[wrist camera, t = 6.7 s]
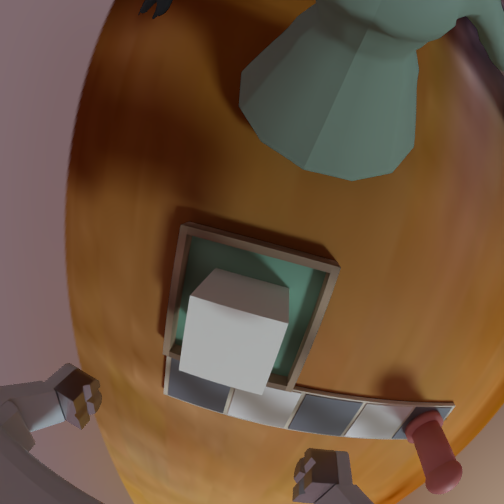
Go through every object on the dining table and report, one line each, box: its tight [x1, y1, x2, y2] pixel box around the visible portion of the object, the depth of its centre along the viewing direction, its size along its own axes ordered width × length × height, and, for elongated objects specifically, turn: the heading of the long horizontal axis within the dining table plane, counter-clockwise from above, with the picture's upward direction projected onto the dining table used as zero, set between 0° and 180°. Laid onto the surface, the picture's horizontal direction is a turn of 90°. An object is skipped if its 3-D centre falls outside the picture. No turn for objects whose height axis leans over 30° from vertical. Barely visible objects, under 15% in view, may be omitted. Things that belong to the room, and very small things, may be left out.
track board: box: [164, 356, 455, 439], centre depth 20 cm, size 5×28×1 cm, turn 76°
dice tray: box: [163, 222, 341, 392], centre depth 18 cm, size 10×10×2 cm
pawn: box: [405, 410, 462, 494], centre depth 14 cm, size 4×4×9 cm
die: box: [179, 268, 289, 395], centre depth 16 cm, size 5×5×5 cm
